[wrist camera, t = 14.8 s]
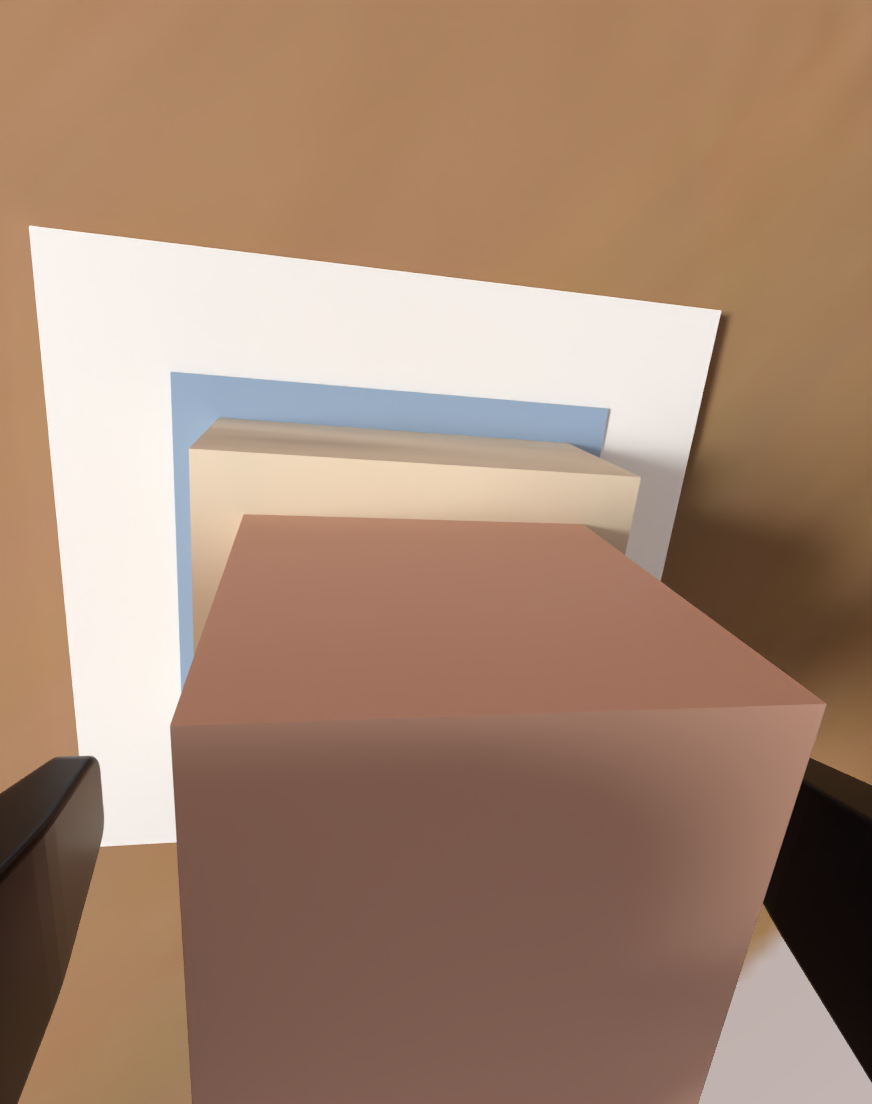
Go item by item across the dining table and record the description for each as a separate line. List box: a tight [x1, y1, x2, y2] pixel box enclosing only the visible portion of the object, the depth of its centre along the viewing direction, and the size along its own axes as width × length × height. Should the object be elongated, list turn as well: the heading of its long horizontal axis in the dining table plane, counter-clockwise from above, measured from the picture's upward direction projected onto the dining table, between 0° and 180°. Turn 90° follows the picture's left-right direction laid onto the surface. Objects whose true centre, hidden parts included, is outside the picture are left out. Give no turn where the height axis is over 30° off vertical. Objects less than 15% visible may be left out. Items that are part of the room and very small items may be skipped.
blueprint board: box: [29, 226, 721, 847], centre depth 13 cm, size 12×12×1 cm
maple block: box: [189, 418, 641, 655], centre depth 11 cm, size 6×6×3 cm
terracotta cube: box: [170, 514, 827, 1104], centre depth 8 cm, size 5×5×5 cm
